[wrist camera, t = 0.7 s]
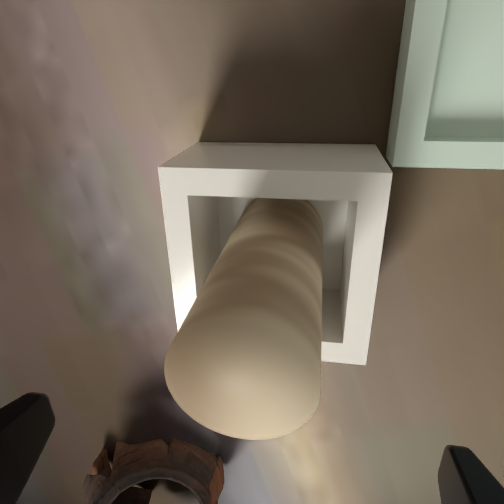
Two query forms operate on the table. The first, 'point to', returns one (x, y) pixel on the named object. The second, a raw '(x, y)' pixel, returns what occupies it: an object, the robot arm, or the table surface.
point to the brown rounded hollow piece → (153, 472)
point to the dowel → (255, 327)
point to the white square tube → (283, 187)
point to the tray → (449, 86)
